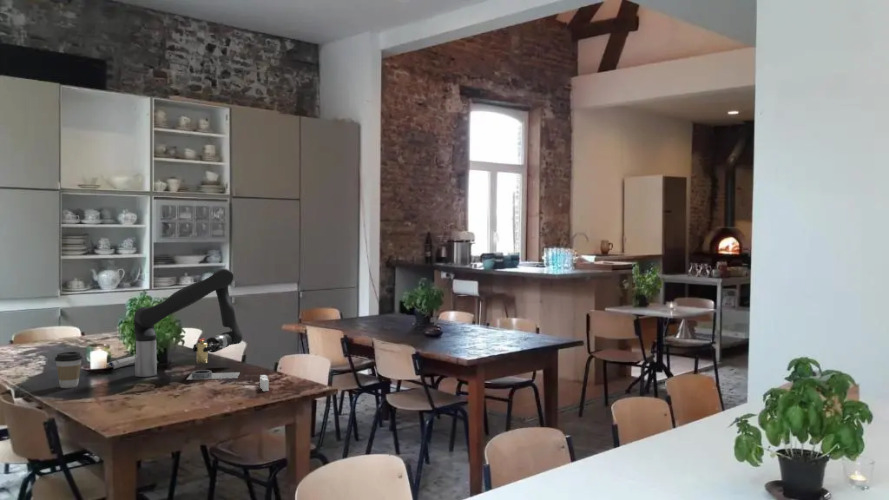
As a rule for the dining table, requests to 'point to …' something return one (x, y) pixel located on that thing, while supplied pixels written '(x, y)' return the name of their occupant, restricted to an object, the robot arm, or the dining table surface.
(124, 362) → the grey long cylinder
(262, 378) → the napkin holder
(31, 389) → the dining table surface
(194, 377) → the manifold plate
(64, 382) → the coffee cup
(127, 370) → the dining table surface
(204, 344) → the brass valve
